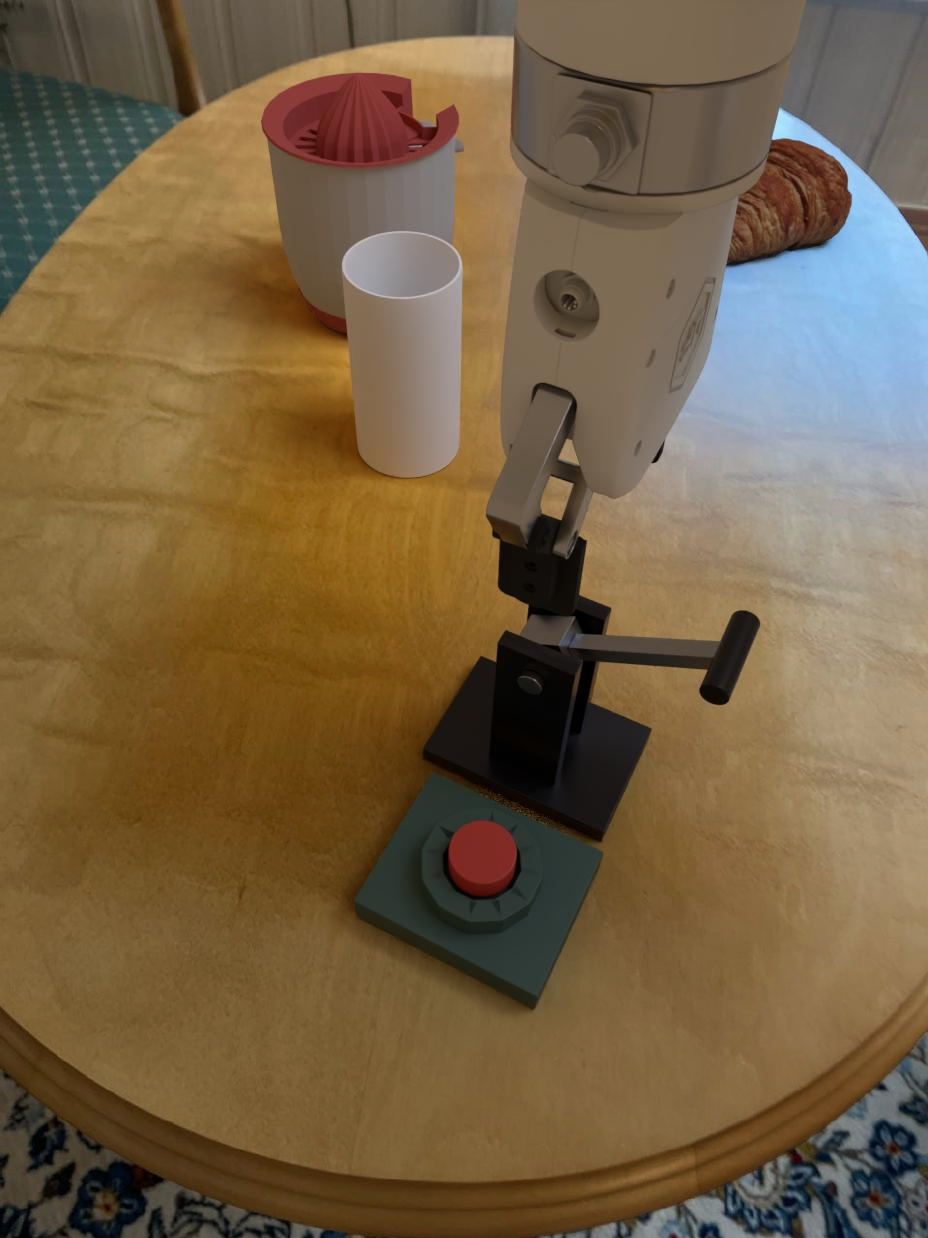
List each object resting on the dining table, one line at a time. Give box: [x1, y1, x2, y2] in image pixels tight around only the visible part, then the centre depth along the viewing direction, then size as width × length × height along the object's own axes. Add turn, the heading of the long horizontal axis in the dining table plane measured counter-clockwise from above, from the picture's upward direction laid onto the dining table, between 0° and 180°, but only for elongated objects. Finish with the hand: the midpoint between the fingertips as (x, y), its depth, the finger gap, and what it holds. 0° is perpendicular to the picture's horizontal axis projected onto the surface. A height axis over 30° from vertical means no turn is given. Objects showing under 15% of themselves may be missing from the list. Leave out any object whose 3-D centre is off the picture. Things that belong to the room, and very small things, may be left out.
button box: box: [353, 771, 604, 1010], centre depth 54 cm, size 11×9×4 cm
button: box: [448, 820, 517, 897], centre depth 52 cm, size 4×4×2 cm
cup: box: [342, 231, 464, 479], centre depth 72 cm, size 8×8×16 cm
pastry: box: [727, 137, 853, 264], centre depth 97 cm, size 17×15×8 cm
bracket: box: [422, 594, 653, 843], centre depth 56 cm, size 12×8×13 cm, turn 63°
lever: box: [518, 609, 761, 706], centre depth 50 cm, size 12×5×2 cm, turn 63°
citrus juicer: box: [260, 72, 465, 334], centre depth 83 cm, size 16×17×20 cm
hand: (584, 520), depth 41 cm, fingers open, 9 cm apart
